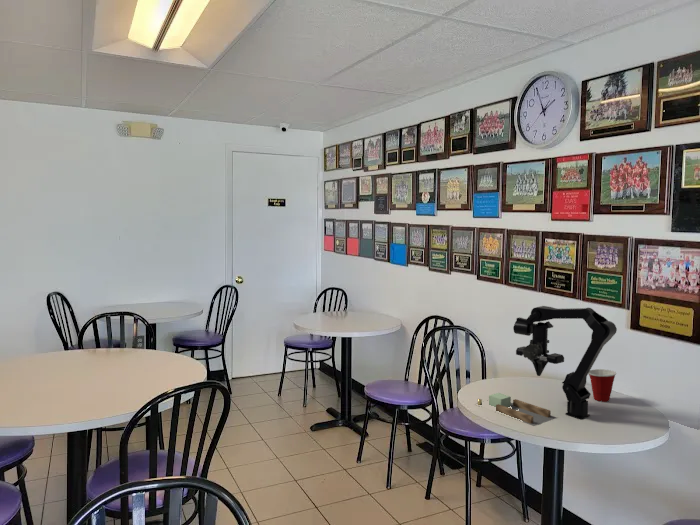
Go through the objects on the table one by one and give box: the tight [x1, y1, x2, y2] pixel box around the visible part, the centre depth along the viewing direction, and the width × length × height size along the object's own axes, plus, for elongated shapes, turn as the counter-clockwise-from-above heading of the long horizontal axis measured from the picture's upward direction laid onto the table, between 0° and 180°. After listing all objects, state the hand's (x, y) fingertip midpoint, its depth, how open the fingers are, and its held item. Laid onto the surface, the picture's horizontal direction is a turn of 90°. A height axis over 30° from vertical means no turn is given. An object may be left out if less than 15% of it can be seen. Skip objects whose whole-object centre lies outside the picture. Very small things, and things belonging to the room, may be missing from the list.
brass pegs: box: [477, 398, 483, 405], centre depth 218 cm, size 2×14×2 cm, turn 125°
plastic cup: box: [588, 368, 617, 403], centre depth 222 cm, size 11×11×12 cm
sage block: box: [488, 392, 512, 407], centre depth 214 cm, size 6×6×4 cm
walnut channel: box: [496, 399, 552, 424], centre depth 205 cm, size 16×12×2 cm
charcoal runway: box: [511, 402, 557, 427], centre depth 208 cm, size 28×14×1 cm, turn 35°
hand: (538, 375), depth 214 cm, fingers closed
